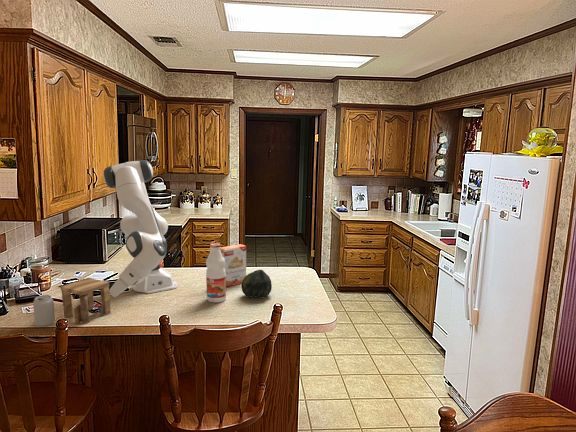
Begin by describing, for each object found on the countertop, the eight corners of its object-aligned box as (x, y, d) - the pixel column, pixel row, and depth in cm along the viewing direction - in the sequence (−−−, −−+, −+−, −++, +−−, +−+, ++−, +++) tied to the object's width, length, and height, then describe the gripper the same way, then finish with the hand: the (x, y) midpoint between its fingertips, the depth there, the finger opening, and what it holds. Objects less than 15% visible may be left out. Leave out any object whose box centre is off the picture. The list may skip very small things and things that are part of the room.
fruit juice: (229, 297, 218) (228, 243, 213) (219, 304, 210) (218, 247, 205) (213, 294, 222) (212, 241, 217) (203, 301, 214) (201, 245, 209)
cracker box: (225, 287, 233) (224, 249, 229) (219, 284, 237) (218, 247, 234) (247, 282, 242) (246, 245, 238) (240, 279, 246) (240, 243, 242)
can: (32, 324, 187) (29, 297, 184) (50, 318, 192) (47, 292, 190) (40, 329, 182) (37, 301, 180) (58, 323, 188) (56, 296, 186)
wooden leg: (100, 314, 197) (98, 289, 195) (104, 315, 196) (103, 290, 194) (80, 322, 188) (77, 296, 186) (84, 323, 187) (82, 297, 185)
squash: (237, 281, 226) (243, 265, 215) (265, 279, 232) (272, 263, 221) (242, 306, 218) (248, 291, 207) (270, 303, 224) (278, 288, 213)
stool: (111, 312, 199) (109, 282, 196) (81, 325, 185) (78, 293, 183) (90, 307, 205) (88, 277, 203) (59, 319, 192) (57, 287, 189)
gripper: (141, 259, 192) (122, 279, 195) (118, 275, 172) (97, 297, 175) (152, 269, 192) (132, 289, 195) (130, 286, 172) (109, 308, 175)
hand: (116, 293), depth 185 cm, fingers closed
